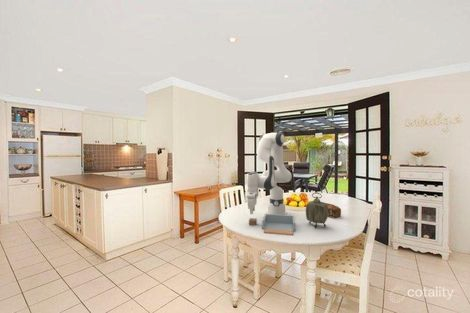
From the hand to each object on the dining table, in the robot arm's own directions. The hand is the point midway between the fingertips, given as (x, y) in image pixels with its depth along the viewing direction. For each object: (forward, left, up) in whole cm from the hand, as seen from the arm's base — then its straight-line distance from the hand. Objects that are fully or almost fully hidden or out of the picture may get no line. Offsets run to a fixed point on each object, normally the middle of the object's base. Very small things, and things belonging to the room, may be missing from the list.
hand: (252, 212), depth 163 cm
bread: (-43, +60, -11) cm, 74 cm away
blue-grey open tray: (-1, +19, -10) cm, 22 cm away
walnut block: (-1, 0, -10) cm, 10 cm away
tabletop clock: (-10, +46, -10) cm, 48 cm away
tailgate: (+8, +19, -9) cm, 23 cm away
